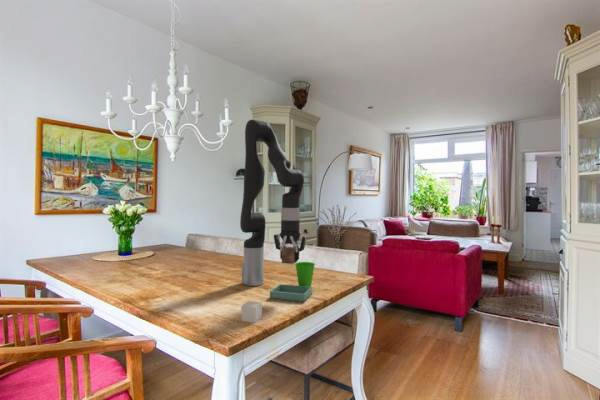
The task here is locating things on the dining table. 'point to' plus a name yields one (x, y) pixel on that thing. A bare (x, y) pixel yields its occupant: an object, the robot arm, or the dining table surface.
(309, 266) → the cup
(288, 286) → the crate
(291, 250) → the walnut block
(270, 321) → the dining table surface
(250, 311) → the cream box
